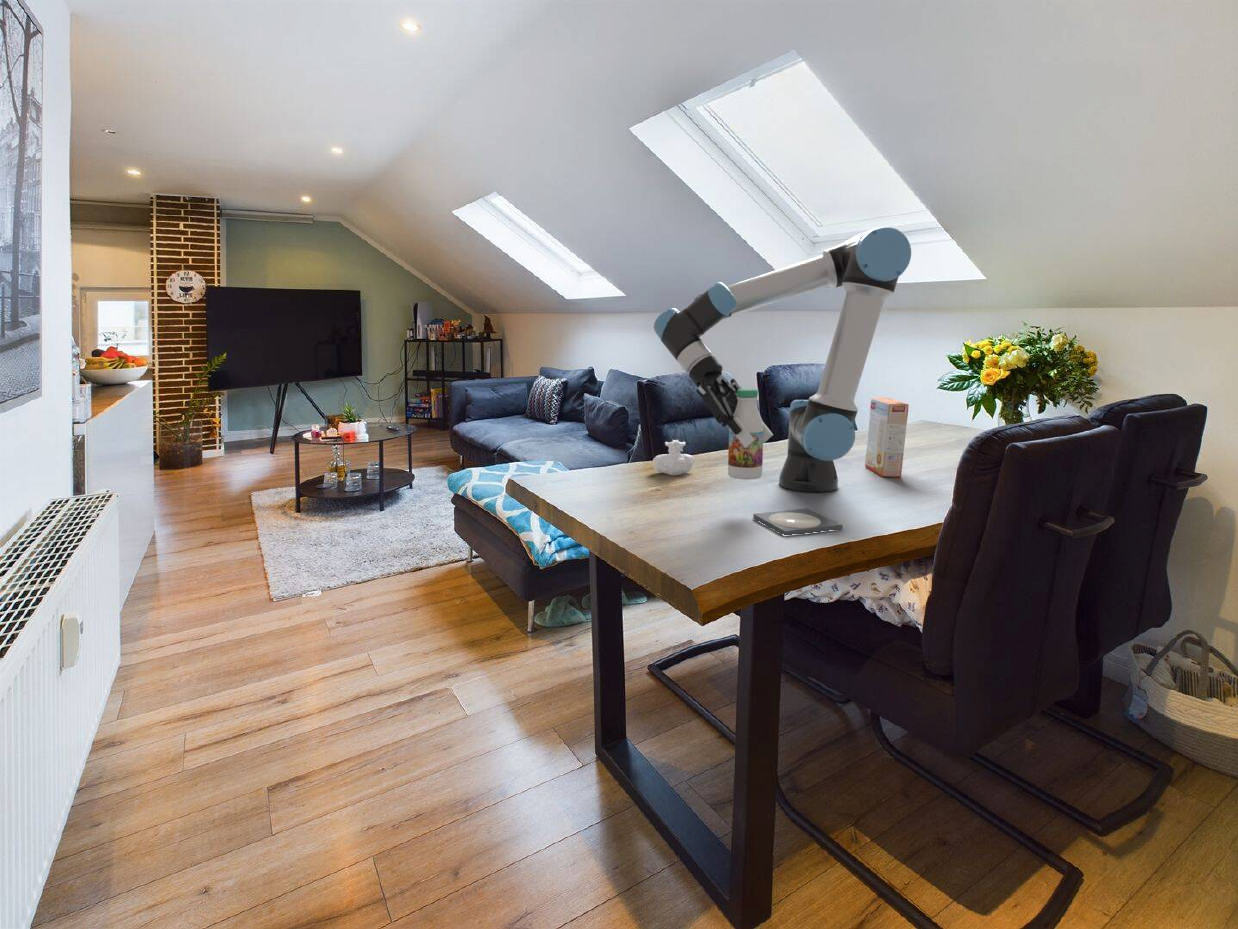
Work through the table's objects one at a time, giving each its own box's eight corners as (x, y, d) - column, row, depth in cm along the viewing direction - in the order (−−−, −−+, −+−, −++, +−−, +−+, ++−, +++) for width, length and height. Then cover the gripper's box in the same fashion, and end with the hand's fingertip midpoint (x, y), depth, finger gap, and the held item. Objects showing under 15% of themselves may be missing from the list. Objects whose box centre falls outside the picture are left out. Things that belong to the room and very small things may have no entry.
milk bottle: (724, 472, 159) (726, 387, 155) (756, 471, 160) (759, 387, 155) (732, 480, 152) (734, 391, 147) (766, 479, 152) (769, 390, 148)
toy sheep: (653, 482, 193) (656, 456, 184) (650, 461, 198) (654, 435, 189) (694, 481, 194) (700, 456, 185) (691, 461, 199) (696, 435, 190)
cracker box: (902, 477, 190) (910, 403, 185) (881, 477, 190) (887, 403, 185) (884, 466, 204) (890, 397, 199) (864, 466, 204) (870, 397, 199)
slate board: (807, 513, 156) (807, 507, 156) (842, 530, 144) (842, 524, 144) (753, 518, 152) (753, 513, 151) (784, 536, 140) (785, 530, 139)
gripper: (715, 372, 168) (771, 444, 161) (665, 379, 153) (724, 458, 146) (734, 351, 164) (792, 424, 157) (684, 356, 149) (746, 437, 142)
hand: (759, 441), depth 152 cm, fingers closed on milk bottle, 7 cm apart
